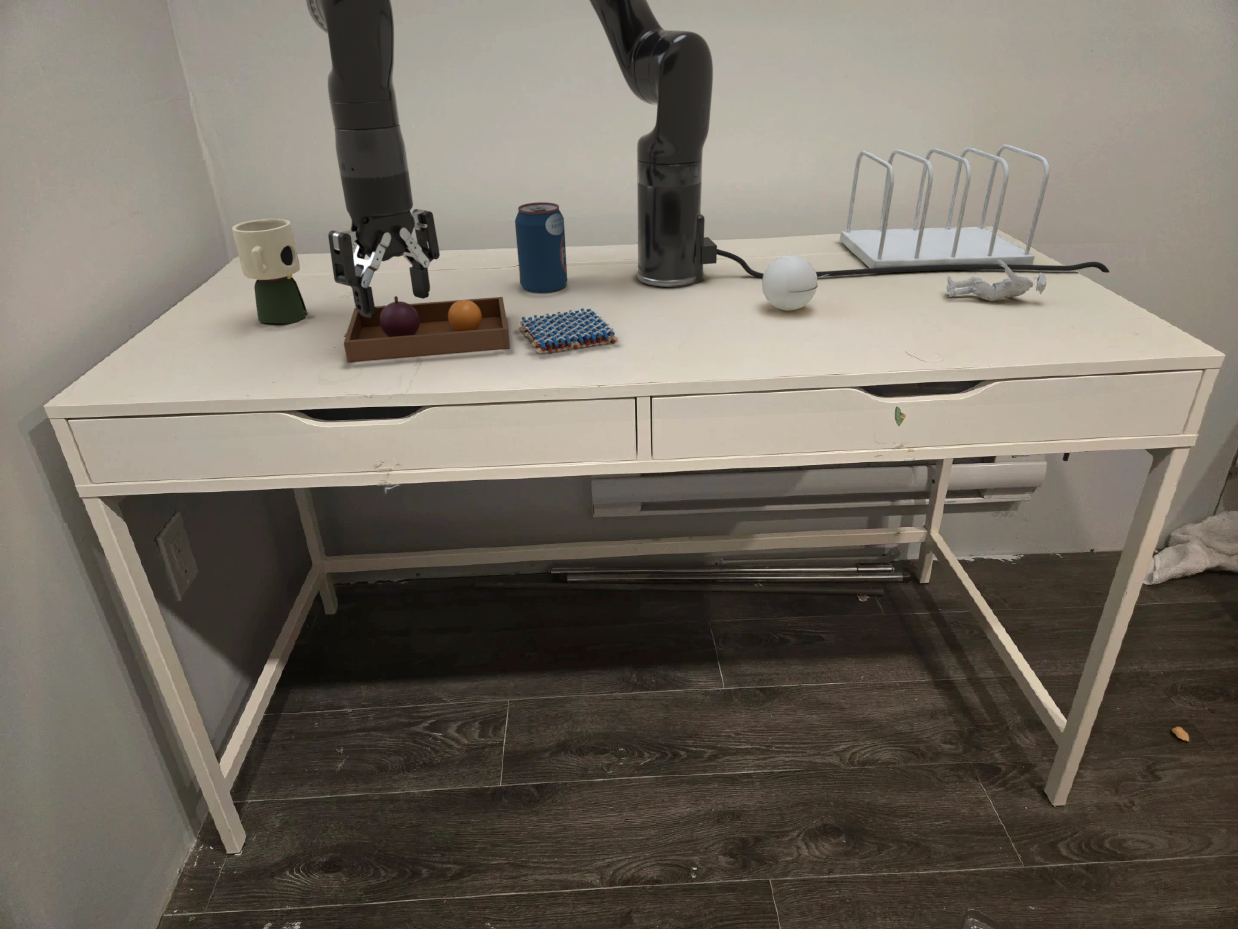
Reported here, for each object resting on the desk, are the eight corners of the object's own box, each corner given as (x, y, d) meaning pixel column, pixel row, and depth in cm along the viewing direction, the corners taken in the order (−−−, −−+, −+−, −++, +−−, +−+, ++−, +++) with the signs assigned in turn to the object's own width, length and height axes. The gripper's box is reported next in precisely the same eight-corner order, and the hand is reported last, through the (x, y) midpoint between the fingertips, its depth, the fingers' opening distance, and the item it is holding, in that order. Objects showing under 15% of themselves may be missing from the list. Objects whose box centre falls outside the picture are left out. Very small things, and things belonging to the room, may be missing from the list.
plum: (422, 330, 105) (416, 288, 102) (421, 344, 100) (414, 300, 98) (384, 333, 104) (377, 291, 101) (381, 347, 100) (373, 304, 97)
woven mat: (592, 319, 109) (592, 304, 108) (620, 347, 100) (620, 331, 99) (517, 330, 106) (515, 315, 105) (538, 360, 97) (537, 344, 96)
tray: (504, 318, 109) (502, 296, 108) (510, 352, 99) (507, 328, 98) (358, 330, 107) (354, 307, 105) (348, 366, 96) (343, 342, 95)
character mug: (303, 334, 106) (280, 234, 99) (246, 337, 105) (219, 237, 99) (318, 306, 115) (298, 213, 109) (267, 309, 115) (243, 215, 108)
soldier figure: (944, 295, 117) (1034, 271, 114) (953, 325, 115) (1044, 301, 112) (946, 269, 110) (1042, 243, 107) (956, 301, 108) (1053, 275, 105)
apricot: (482, 325, 106) (479, 294, 104) (483, 337, 102) (480, 305, 100) (450, 328, 105) (446, 296, 103) (450, 339, 102) (445, 307, 100)
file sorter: (872, 273, 123) (887, 165, 115) (838, 243, 138) (849, 145, 130) (1033, 267, 124) (1059, 159, 116) (982, 237, 139) (1001, 140, 131)
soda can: (576, 291, 119) (571, 207, 112) (533, 300, 116) (526, 215, 109) (554, 279, 124) (549, 198, 118) (513, 287, 121) (505, 205, 115)
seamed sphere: (773, 321, 107) (777, 266, 103) (751, 303, 113) (755, 250, 109) (842, 313, 109) (849, 259, 105) (818, 296, 115) (823, 244, 111)
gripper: (344, 182, 85) (370, 329, 93) (443, 161, 95) (458, 296, 103) (299, 175, 89) (328, 317, 97) (399, 156, 99) (417, 286, 107)
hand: (395, 306), depth 100 cm, fingers open, 8 cm apart
